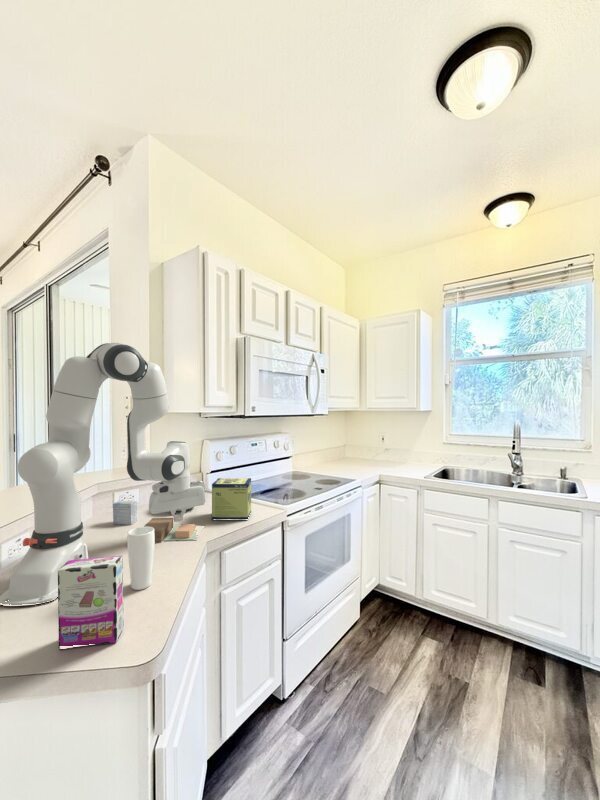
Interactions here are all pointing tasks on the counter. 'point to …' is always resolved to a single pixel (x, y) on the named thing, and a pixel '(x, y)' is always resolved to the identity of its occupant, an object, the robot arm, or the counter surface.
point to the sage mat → (172, 538)
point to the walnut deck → (160, 527)
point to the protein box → (231, 498)
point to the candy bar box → (90, 601)
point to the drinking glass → (141, 556)
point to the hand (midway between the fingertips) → (178, 520)
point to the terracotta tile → (185, 531)
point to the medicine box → (125, 512)
